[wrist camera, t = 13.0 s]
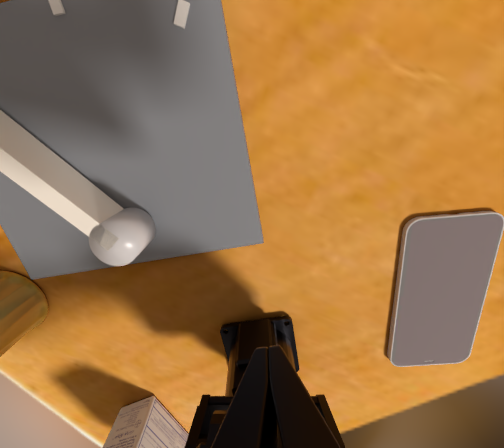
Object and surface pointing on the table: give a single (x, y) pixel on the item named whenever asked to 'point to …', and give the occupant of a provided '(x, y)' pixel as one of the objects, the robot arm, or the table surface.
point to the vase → (19, 308)
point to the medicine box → (146, 427)
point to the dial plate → (127, 124)
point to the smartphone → (442, 286)
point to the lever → (73, 196)
